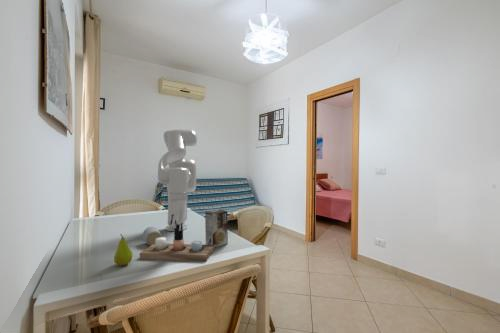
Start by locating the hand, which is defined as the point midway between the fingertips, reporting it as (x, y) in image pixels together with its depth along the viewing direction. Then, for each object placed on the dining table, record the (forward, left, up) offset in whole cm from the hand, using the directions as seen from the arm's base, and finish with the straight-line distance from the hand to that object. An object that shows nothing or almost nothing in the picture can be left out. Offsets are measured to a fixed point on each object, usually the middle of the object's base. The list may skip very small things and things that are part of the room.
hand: (178, 239), depth 98 cm
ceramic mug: (-13, -18, -7) cm, 23 cm away
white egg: (0, -8, -4) cm, 9 cm away
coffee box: (-14, +13, -7) cm, 20 cm away
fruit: (+12, -17, -7) cm, 22 cm away
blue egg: (0, +8, -5) cm, 9 cm away
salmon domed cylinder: (0, 0, -4) cm, 4 cm away
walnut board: (0, 0, -7) cm, 7 cm away
